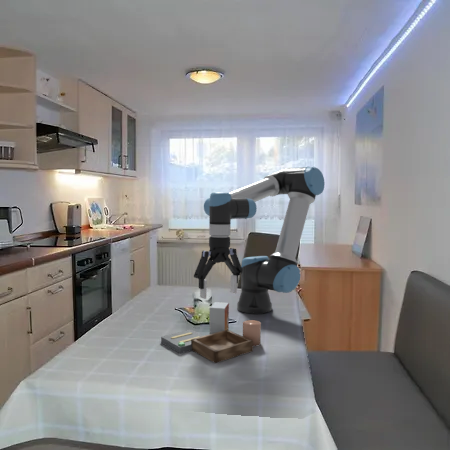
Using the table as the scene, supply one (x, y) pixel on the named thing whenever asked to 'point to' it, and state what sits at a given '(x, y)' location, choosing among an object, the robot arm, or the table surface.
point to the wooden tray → (221, 345)
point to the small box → (219, 317)
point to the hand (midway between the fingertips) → (218, 295)
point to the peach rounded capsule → (252, 331)
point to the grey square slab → (180, 340)
